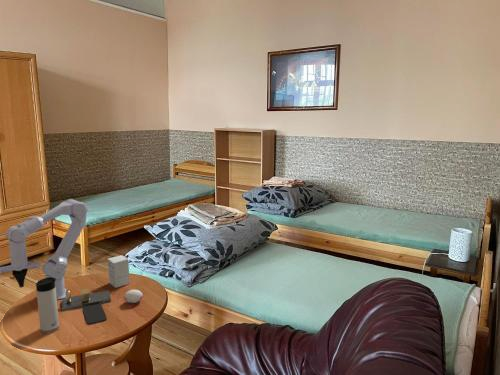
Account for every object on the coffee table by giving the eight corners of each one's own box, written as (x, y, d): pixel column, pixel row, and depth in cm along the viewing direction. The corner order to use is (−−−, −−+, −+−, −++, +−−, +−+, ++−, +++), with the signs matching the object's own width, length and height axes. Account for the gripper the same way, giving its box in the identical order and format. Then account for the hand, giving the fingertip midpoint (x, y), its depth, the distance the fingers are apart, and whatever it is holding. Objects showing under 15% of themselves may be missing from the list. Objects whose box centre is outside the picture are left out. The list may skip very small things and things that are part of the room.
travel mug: (58, 331, 142) (53, 282, 138) (38, 334, 140) (33, 284, 136) (61, 323, 148) (57, 275, 144) (42, 325, 146) (37, 277, 142)
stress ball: (142, 306, 168) (142, 290, 171) (142, 304, 161) (142, 288, 163) (124, 307, 166) (125, 292, 169) (123, 305, 159) (124, 289, 162)
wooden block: (81, 296, 166) (80, 289, 165) (88, 295, 167) (88, 288, 166) (81, 301, 161) (81, 294, 161) (89, 300, 162) (88, 293, 162)
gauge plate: (62, 301, 165) (61, 287, 164) (108, 292, 173) (108, 279, 172) (62, 310, 157) (61, 296, 156) (111, 301, 165) (110, 287, 164)
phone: (100, 303, 163) (107, 319, 150) (100, 304, 163) (107, 321, 150) (82, 307, 159) (87, 324, 147) (82, 309, 159) (87, 326, 147)
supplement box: (123, 278, 188) (122, 254, 185) (130, 283, 182) (128, 259, 180) (108, 283, 183) (107, 258, 180) (115, 288, 177) (113, 262, 175)
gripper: (-5, 261, 148) (-1, 293, 151) (38, 256, 154) (41, 287, 157) (-2, 255, 154) (2, 286, 157) (39, 250, 161) (42, 280, 163)
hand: (21, 286), depth 157 cm, fingers closed
